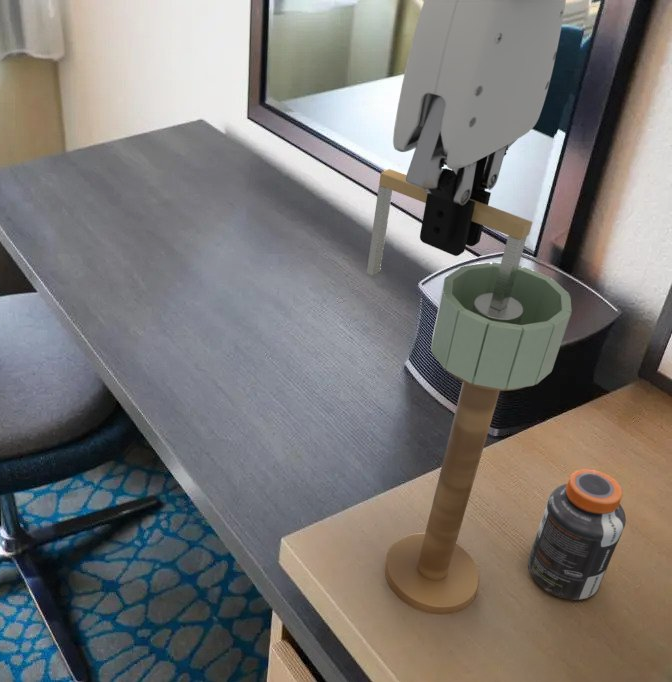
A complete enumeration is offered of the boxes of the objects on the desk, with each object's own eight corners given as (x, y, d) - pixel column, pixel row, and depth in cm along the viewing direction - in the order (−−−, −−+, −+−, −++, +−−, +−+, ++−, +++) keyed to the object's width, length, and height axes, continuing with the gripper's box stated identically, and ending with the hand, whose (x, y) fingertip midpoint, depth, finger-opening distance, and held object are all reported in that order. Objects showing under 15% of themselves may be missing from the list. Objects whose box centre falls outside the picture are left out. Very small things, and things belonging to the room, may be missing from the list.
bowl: (573, 353, 55) (594, 294, 52) (512, 405, 51) (530, 345, 48) (471, 307, 60) (485, 250, 57) (408, 351, 56) (419, 293, 53)
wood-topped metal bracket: (525, 329, 54) (558, 221, 49) (500, 349, 53) (532, 239, 48) (382, 263, 62) (398, 163, 57) (357, 278, 60) (370, 177, 55)
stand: (494, 579, 71) (573, 353, 55) (442, 632, 67) (512, 405, 51) (418, 527, 76) (471, 307, 60) (366, 574, 72) (408, 351, 56)
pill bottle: (612, 599, 68) (653, 508, 62) (546, 605, 68) (580, 514, 62) (576, 545, 73) (611, 456, 67) (515, 551, 73) (543, 462, 66)
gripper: (519, -76, 49) (463, 190, 60) (365, -31, 42) (334, 263, 53) (642, -62, 45) (557, 223, 56) (493, -9, 37) (429, 309, 48)
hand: (448, 241), depth 54 cm, fingers closed on wood-topped metal bracket, 1 cm apart
